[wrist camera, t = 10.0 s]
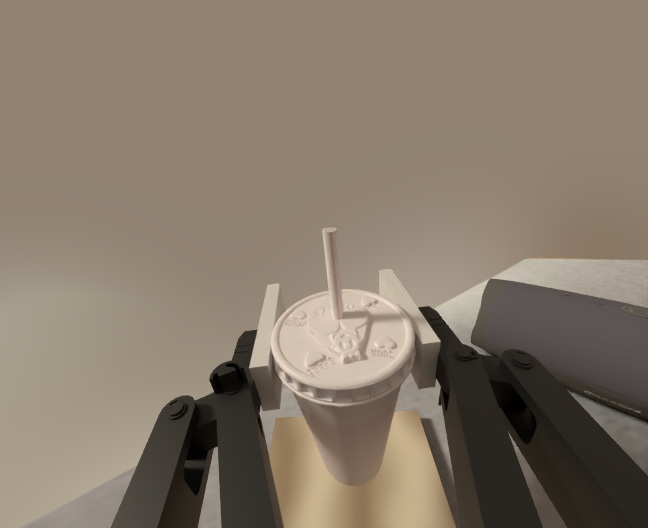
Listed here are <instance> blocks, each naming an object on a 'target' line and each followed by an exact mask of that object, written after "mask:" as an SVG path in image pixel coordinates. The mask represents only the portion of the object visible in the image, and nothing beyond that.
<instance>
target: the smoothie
mask: <svg viewBox="0 0 648 528" xmlns="http://www.w3.org/2000/svg"><path fill="white" fill-rule="evenodd" d="M322 231H323V241H324V251H325V260H326V268H327V277H328V286H329V291H325V292H321V293H317V294H314V295H311V296H309V297H307V298H304V299H302V300H300V301H298V302H297V303H295V304H294V305H293V306H291V307H290V308H288V309H287V310H286V311H285V312H284V313H283V314H282V315H281V317H280V318H279V319H278V321H277V322H276V324H275V326H274V328H273V331H272V335H271V349H272V353H273V361H274V366H275V371H276V372H277V374H278V376H279V377H280V379H281V381H282V382H283V384H284V385H285V386H286V387H288V388H289V389H290V390H291V391H293V393H294V396H295V398H296V400H297V402H298V404H299V407H300V409H301V411H302V413H303V416H304V418H305V420H306V423H307V425H308V427H309V430H310V432H311V434H312V437H313V439H314V441H315V443H316V446H317V448H318V450H319V453H320V455H321V457H322V460H323V462H324V464H325V466H326V468H327V470H328V472H329V473H330V475H331V476H332V477H333V478H334V479H336V480H337V481H338V482H340V483H342V484H344V485H348V486H360V485H364V484H366V483H368V482H369V481H371V480H372V479H373V478H374V477H375V476H376V475H377V473H378V472H379V470H380V468H381V465H382V461H383V457H384V453H385V449H386V444H387V440H388V436H389V432H390V428H391V423H392V419H393V415H394V411H395V407H396V402H397V398H398V394H399V391H400V387H401V385H402V383H403V382H404V381H405V379H406V378H407V376H408V375H409V373H410V372H411V370H412V368H413V364H414V360H415V356H416V351H415V331H414V327H413V324H412V322H411V320H410V318H409V316H408V315H407V314H406V312H405V311H404V310H403V309H402V308H401V307H400V306H398V305H397V304H396V303H394V302H393V301H391V300H389V299H387V298H385V297H383V296H381V295H378V294H375V293H372V292H368V291H362V290H354V289H341V278H340V266H339V255H338V242H337V230H336V228H332V227H331V228H325V229H323V230H322Z"/></svg>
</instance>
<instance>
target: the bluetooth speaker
mask: <svg viewBox="0 0 648 528" xmlns="http://www.w3.org/2000/svg"><path fill="white" fill-rule="evenodd" d="M471 343H472V344H474V345H476V346H478V347H480V348H482V349H484V350H486V351H488V352H490V353H492V354H494V355H496V356H499V357H501V355H502V353H503V352H504V351H505V350H509V349H517V350H521V351H524V352H527V353H529V354H531V355H532V356H534V357H535V358H536V359H537V360H538V361H539V362H540V363H541V364H542V365H543V366H544V367H545V368H546V369H547V370H548V371H549V372H550V373H551V374H552V375H553V376H554V377H555V379H556V380H557V381H558V382H559V383H560V384H561V385H562V386H563V387H564V388H565V389H568V390H570V391H572V392H575V393H577V394H580V395H582V396H585V397H587V398H590V399H593V400H595V401H598V402H600V403H603V404H605V405H608V406H610V407H613V408H616V409H618V410H621V411H623V412H626V413H628V414H631V415H634V416H637V417H640V418H642V419H645V420H648V308H645V307H640V306H636V305H631V304H627V303H622V302H617V301H613V300H608V299H603V298H598V297H593V296H588V295H583V294H578V293H573V292H568V291H563V290H558V289H552V288H547V287H542V286H536V285H531V284H525V283H520V282H514V281H507V280H499V279H490V280H489V281H488V283H487V285H486V287H485V290H484V293H483V296H482V302H481V307H480V311H479V314H478V317H477V321H476V324H475V326H474V328H473V331H472V335H471Z"/></svg>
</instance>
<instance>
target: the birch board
mask: <svg viewBox="0 0 648 528" xmlns="http://www.w3.org/2000/svg"><path fill="white" fill-rule="evenodd" d="M269 459H270V464H271V468H272V473H273V478H274V483H275V487H276V492H277V497H278V501H279V506H280V511H281V516H282V520H283V525H284V528H456V525H455V522H454V519H453V516H452V513H451V510H450V507H449V504H448V501H447V498H446V495H445V492H444V489H443V486H442V483H441V480H440V477H439V474H438V471H437V468H436V465H435V462H434V459H433V456H432V453H431V450H430V447H429V444H428V441H427V438H426V435H425V432H424V429H423V426H422V423H421V420H420V417H419V414H418V411H401V412H394V415H393V419H392V423H391V428H390V432H389V436H388V440H387V444H386V449H385V453H384V457H383V461H382V465H381V468H380V470H379V472H378V473H377V475H376V476H375V477H374V478H373V479H372V480H371V481H369V482H368V483H366V484H364V485H360V486H348V485H344V484H342V483H340V482H338V481H337V480H336V479H334V478H333V477H332V476H331V475H330V473H329V472H328V470H327V468H326V466H325V464H324V462H323V460H322V457H321V455H320V453H319V450H318V448H317V446H316V443H315V441H314V439H313V437H312V434H311V432H310V430H309V427H308V425H307V423H306V420H305V418H304V417H289V418H276V420H275V426H274V431H273V437H272V443H271V448H270V454H269Z"/></svg>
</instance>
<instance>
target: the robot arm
mask: <svg viewBox="0 0 648 528" xmlns="http://www.w3.org/2000/svg"><path fill="white" fill-rule="evenodd" d="M379 289H380V290H379V292H380V294H379V295H381V296H383V297H385V298H387V299H389V300H391V301H393V302H394V303H396V304H397V305H398V306H400V307H401V308H402V309H403V310H404V311H405V312H406V314H407V315H408V316H409V318H410V320H411V322H412V324H413V327H414V331H415V351H416V356H415V360H414V364H413V368H412V370H411V374H412V376H413V378H414V380H415V382H416V384H417V386H418V389H422V388H429V387H435V382H436V379H437V380H438V382H439V384H440V386H441V389H440V396H439V404H438V405H441V403H442V409H443V415H444V421H445V427H446V433H447V440H448V446H449V452H450V458H451V464H452V470H453V476H454V482H455V488H456V495H457V501H458V507H459V513H460V519H461V525H462V528H543V527H542V524H541V521H540V519H539V516H538V513H537V510H536V508H535V505H534V502H533V499H532V497H531V494H530V491H529V488H528V486H527V483H526V480H525V477H524V475H523V472H522V469H521V467H520V464H519V461H518V458H517V456H516V453H515V450H514V447H513V445H512V442H511V439H510V436H509V434H508V432H509V433H510V435H511V437H512V438H513V440H514V441H515V443H516V445H517V446H518V448H519V450H520V451H521V453H522V454H523V456H524V458H525V459H526V461H527V462H528V464H529V466H530V467H531V469H532V471H533V472H534V474H535V475H536V477H537V479H538V480H539V482H540V484H541V485H542V487H543V488H544V490H545V492H546V493H547V495H548V497H549V498H550V500H551V501H552V503H553V505H554V506H555V508H556V509H557V511H558V513H559V514H560V516H561V518H562V519H563V521H564V522H565V524H566V526H567V527H568V528H648V476H647V475H646V474H645V473H644V472H643V471H642V470H641V469H640V467H639V466H638V465H637V464H636V463H635V462H634V461H633V460H632V459H631V458H630V457H629V456H628V455H627V454H626V453H625V452H624V451H623V449H622V448H621V447H620V446H619V445H618V444H617V443H616V442H615V441H614V440H613V439H612V438H611V437H610V436H609V435H608V434H607V433H606V431H605V430H604V429H603V428H602V427H601V426H600V425H599V424H598V423H597V422H596V421H595V420H594V419H593V418H592V417H591V416H590V415H589V413H588V412H587V411H586V410H585V409H584V408H583V407H582V406H581V405H580V404H579V403H578V402H577V401H576V400H575V399H574V398H573V397H572V395H571V394H570V393H569V392H568V391H567V390H566V389H565V388H564V387H563V386H562V385H561V384H560V383H559V382H558V381H557V380H556V379H555V377H554V376H553V375H552V374H551V373H550V372H549V371H548V370H547V369H546V368H545V367H544V366H543V365H542V364H541V363H540V362H539V361H538V360H537V359H536V358H535V357H534V356H532V355H531V354H529V353H527V352H524V351H521V350H517V349H509V350H505V351H504V352H503V353H502V355H501V357H494V356H485V355H480V354H478V352H477V351H476V350H474V349H473V348H472V347H469V346H467V345H464V344H462V343H461V342H460V340H459V339H458V338H457V337H456V335H455V334H454V333H453V331H452V330H451V329H450V328H449V326H448V325H446V322H445V321H444V320H443V319H442V317H441V316H440V315H439V313H438V312H437V311H436V310H434V309H432V308H431V307H429V306H427V307H419V308H417V306H416V305H415V303H414V302H413V300H412V299H411V297H410V296H409V294H408V293H407V291H406V290H405V289H404V287H403V286H402V284H401V283H400V281H399V280H398V278H397V277H396V276H395V274H394V272H393V271H392V270H391V269H385V270H379ZM284 312H285V306H284V301H283V296H282V292H281V288H280V283H278V284H270V285H268V286H267V291H266V295H265V299H264V304H263V309H262V313H261V317H260V322H259V326H258V330H252V331H245V332H244V333H243V334H242V335H241V336H240V338H239V339H238V342H237V345H236V348H235V352H234V355H233V358H232V361H228V362H225V363H223V364H220V365H219V366H218V367H217V368H216V369H214V371H213V372H212V373H211V375H210V382H211V385H212V387H213V390H214V392H213V393H211V394H210V395H207V396H205V397H203V398H200V399H198V400H194V399H193V397H191V396H180V397H178V398H175V399H174V400H172V401H170V402H169V403H168V404H167V405H166V406H165V407H164V408H163V409H162V411H161V412H160V414H159V416H158V419H157V421H156V423H155V426H154V428H153V430H152V433H151V435H150V437H149V440H148V442H147V444H146V447H145V449H144V451H143V454H142V456H141V458H140V461H139V463H138V465H137V468H136V470H135V472H134V474H133V477H132V479H131V481H130V484H129V486H128V488H127V491H126V493H125V495H124V498H123V500H122V502H121V505H120V507H119V509H118V512H117V514H116V516H115V519H114V521H113V523H112V526H111V528H198V523H199V518H200V513H201V508H202V503H203V498H204V493H205V489H206V484H207V479H208V474H209V469H210V464H211V459H212V454H213V449H214V448H215V447H217V446H218V460H219V481H220V502H221V523H222V528H284V525H283V520H282V516H281V511H280V506H279V501H278V497H277V492H276V487H275V483H274V478H273V473H272V468H271V464H270V459H269V454H268V450H267V445H266V440H265V435H264V431H263V426H262V421H261V418H260V415H259V412H260V406H262V409H263V411H268V410H275V409H280V401H281V388H282V381H281V379H280V377H279V376H278V374H277V372H276V371H275V366H274V361H273V353H272V349H271V335H272V331H273V328H274V326H275V324H276V322H277V321H278V319H279V318H280V317H281V315H282V314H283V313H284ZM507 430H508V431H507Z"/></svg>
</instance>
